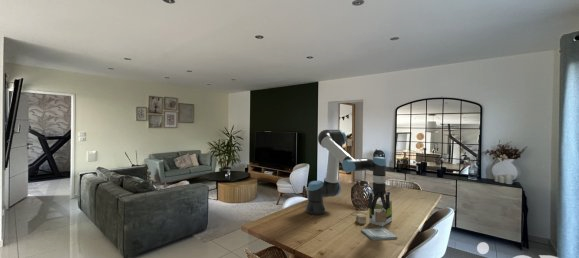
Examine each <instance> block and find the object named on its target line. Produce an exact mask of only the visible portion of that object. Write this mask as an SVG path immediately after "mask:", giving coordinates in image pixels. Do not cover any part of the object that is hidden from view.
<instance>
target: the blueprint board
mask: <svg viewBox="0 0 579 258" xmlns="http://www.w3.org/2000/svg"><path fill="white" fill-rule="evenodd" d="M360 231H361V232H362V234H364V235H365V236H366V237H367V238H369V239H370V240H371V241H384V240H397V239H398V236H397V235H396V234H394V233H392V232H391V231H390V230H389V229H387V228H385V227H384V226H382V227H373V228H361V229H360Z"/></svg>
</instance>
